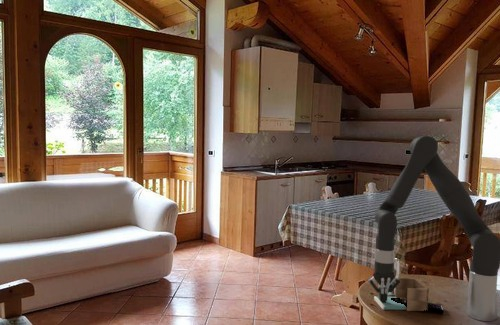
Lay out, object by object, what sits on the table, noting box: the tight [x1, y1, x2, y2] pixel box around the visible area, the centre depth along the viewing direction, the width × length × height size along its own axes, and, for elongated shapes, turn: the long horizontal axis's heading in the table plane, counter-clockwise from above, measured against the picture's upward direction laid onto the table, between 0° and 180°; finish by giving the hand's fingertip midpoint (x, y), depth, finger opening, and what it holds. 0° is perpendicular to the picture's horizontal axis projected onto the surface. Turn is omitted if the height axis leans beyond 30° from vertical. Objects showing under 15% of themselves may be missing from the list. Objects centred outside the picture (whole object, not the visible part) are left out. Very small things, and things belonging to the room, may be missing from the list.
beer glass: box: [387, 257, 400, 296], centre depth 178 cm, size 7×7×15 cm
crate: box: [394, 277, 430, 312], centre depth 166 cm, size 8×12×9 cm
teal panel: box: [373, 295, 407, 311], centre depth 166 cm, size 1×10×9 cm
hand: (383, 301), depth 166 cm, fingers closed
